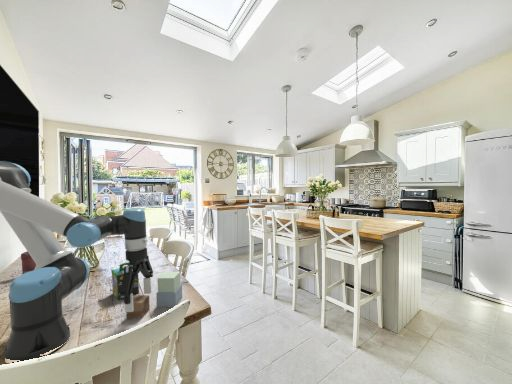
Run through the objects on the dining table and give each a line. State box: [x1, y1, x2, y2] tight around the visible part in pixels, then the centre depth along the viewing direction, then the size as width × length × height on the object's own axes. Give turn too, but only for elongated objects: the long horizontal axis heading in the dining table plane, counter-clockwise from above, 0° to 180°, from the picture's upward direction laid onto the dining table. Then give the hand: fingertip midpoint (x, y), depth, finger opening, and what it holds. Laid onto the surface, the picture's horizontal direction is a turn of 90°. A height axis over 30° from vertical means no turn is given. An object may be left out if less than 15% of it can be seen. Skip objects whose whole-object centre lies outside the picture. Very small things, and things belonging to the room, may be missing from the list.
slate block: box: [155, 283, 183, 308], centre depth 99 cm, size 8×8×6 cm
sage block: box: [157, 271, 181, 292], centre depth 98 cm, size 7×7×6 cm
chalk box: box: [111, 261, 140, 301], centre depth 107 cm, size 9×9×15 cm
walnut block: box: [125, 294, 151, 319], centre depth 90 cm, size 6×6×6 cm
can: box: [20, 251, 36, 275], centre depth 128 cm, size 6×6×14 cm
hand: (139, 301), depth 90 cm, fingers open, 13 cm apart
